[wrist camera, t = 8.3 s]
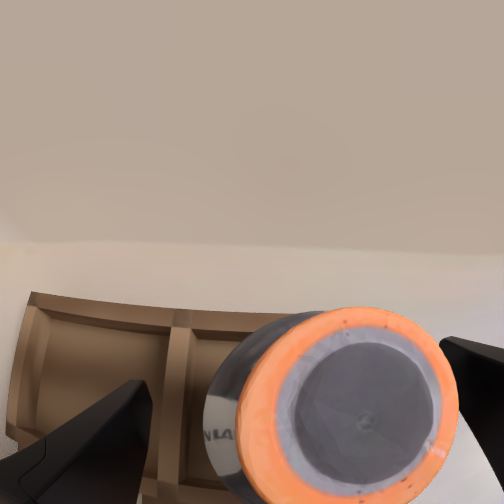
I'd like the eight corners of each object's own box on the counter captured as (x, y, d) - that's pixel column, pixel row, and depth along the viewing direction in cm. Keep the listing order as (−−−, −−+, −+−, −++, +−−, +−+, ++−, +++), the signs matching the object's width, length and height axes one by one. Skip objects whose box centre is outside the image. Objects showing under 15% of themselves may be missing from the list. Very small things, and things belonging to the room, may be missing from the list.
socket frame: (375, 525, 9) (392, 538, 7) (28, 473, 10) (5, 474, 8) (376, 327, 16) (392, 312, 14) (50, 306, 17) (31, 291, 15)
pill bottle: (219, 459, 12) (137, 545, 2) (239, 356, 15) (211, 228, 5) (333, 472, 11) (472, 539, 2) (347, 370, 14) (485, 270, 5)
